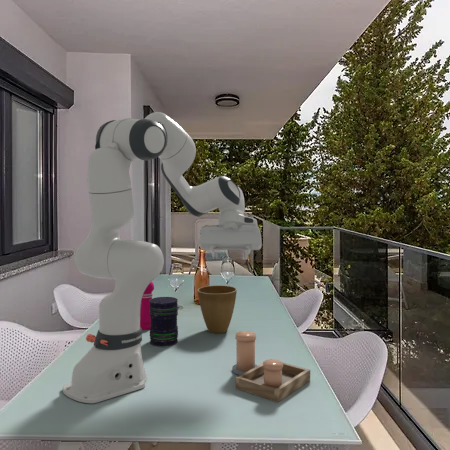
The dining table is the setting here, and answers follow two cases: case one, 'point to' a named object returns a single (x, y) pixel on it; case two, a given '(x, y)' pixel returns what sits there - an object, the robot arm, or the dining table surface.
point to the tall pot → (245, 350)
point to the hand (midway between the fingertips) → (229, 258)
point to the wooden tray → (255, 385)
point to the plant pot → (217, 306)
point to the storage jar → (163, 321)
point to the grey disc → (238, 370)
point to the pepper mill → (146, 307)
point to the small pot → (273, 373)
